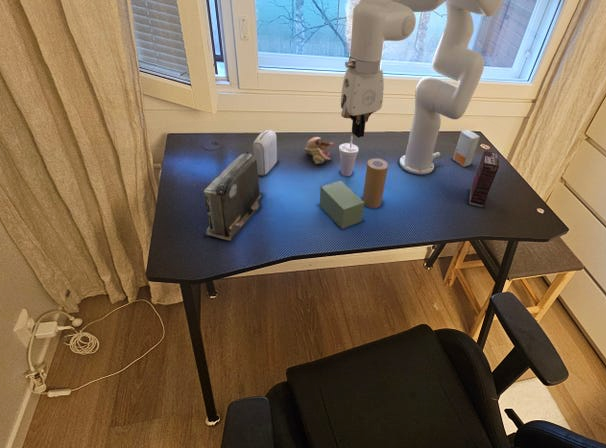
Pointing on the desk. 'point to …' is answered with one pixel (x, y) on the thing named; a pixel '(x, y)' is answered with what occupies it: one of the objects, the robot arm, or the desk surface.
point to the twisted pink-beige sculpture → (318, 149)
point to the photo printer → (265, 151)
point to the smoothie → (347, 157)
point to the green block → (341, 204)
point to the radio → (232, 197)
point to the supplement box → (484, 178)
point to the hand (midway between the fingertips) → (357, 134)
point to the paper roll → (374, 182)
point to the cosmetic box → (466, 147)
